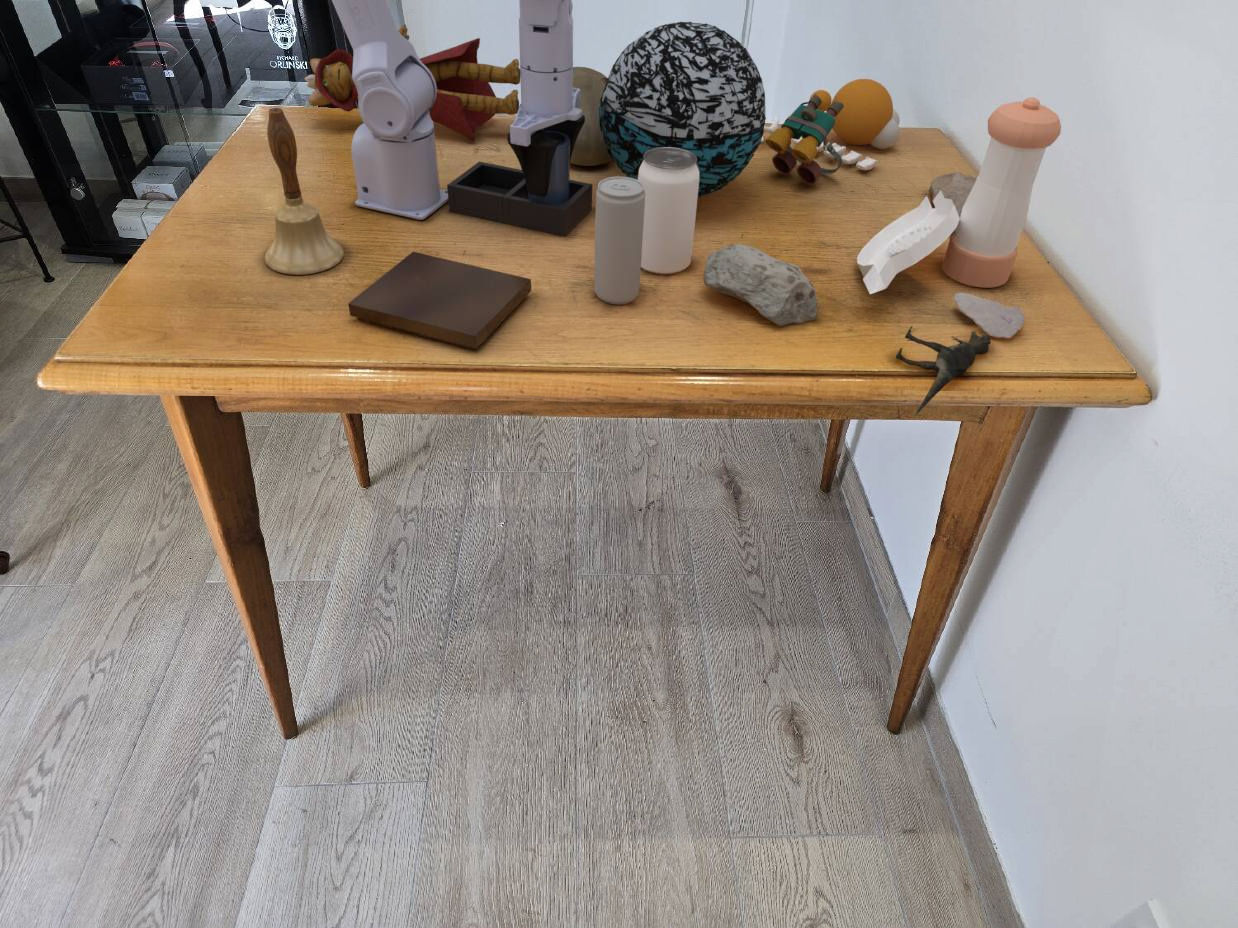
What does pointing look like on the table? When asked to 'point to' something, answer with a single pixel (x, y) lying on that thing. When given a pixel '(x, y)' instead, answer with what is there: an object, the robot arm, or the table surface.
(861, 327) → the table surface
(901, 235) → the two-handled dish
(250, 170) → the table surface
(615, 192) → the beverage can
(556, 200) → the tumbler
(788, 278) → the decorative stone
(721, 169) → the decorative sphere
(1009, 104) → the pepper shaker
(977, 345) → the dinosaur
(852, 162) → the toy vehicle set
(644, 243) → the can
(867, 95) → the toy
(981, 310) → the stone
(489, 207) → the rack
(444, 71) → the figurine
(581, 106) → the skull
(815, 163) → the binoculars
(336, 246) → the hand bell
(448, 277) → the shelf
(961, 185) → the stone
